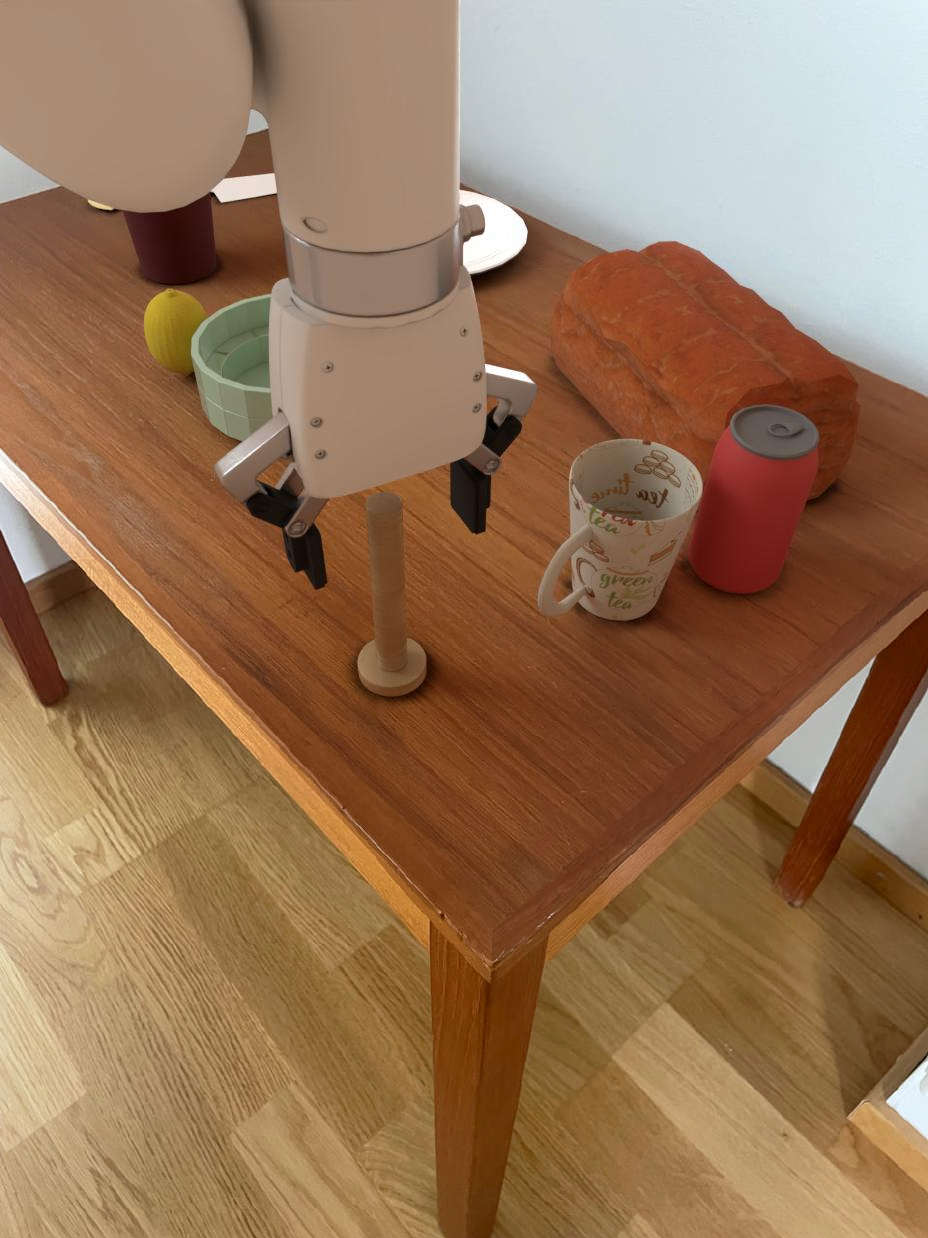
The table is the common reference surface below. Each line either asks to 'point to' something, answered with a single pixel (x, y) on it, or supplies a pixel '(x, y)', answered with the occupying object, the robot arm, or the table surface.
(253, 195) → the knife
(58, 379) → the table surface
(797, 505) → the beer can
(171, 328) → the lemon
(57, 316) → the table surface
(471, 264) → the plate
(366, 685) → the wooden peg with base
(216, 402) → the bowl
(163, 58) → the robot arm
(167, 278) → the mug
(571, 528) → the mug
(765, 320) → the bread
